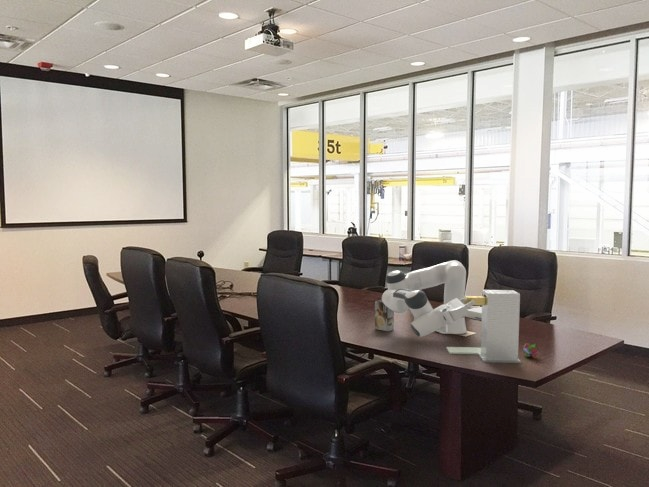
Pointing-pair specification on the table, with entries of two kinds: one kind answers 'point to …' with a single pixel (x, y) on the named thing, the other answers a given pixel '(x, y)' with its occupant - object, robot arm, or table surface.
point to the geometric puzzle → (530, 350)
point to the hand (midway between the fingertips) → (471, 299)
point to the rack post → (500, 326)
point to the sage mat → (463, 350)
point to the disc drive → (475, 313)
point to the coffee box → (383, 317)
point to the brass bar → (476, 300)
